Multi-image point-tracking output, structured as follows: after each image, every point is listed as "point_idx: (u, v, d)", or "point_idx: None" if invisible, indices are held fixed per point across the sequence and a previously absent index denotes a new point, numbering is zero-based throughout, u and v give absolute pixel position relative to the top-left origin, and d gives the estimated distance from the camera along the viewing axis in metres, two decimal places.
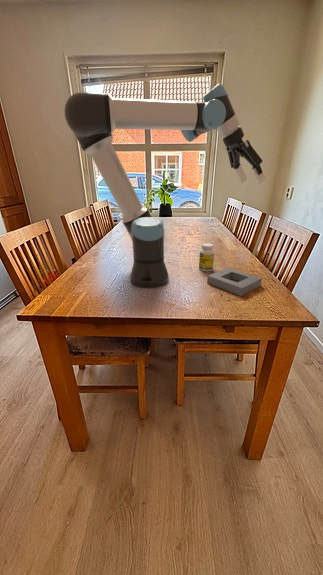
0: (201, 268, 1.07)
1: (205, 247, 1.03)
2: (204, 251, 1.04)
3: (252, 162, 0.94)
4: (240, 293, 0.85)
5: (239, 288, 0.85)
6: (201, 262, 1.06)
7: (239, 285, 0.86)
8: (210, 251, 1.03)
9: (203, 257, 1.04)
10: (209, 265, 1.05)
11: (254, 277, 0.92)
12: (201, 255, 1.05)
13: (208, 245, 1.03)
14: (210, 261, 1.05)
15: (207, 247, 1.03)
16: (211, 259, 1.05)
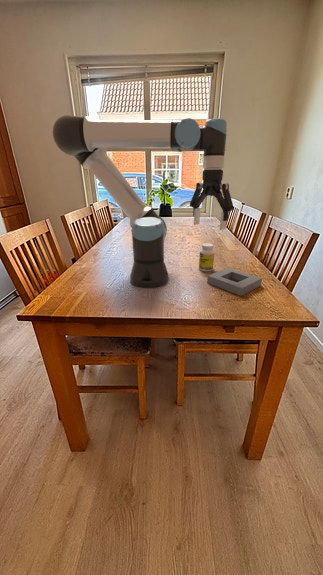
0: (201, 268, 1.07)
1: (205, 247, 1.03)
2: (204, 251, 1.04)
3: (224, 206, 0.92)
4: (240, 293, 0.85)
5: (239, 288, 0.85)
6: (201, 262, 1.06)
7: (239, 285, 0.86)
8: (210, 251, 1.03)
9: (203, 257, 1.04)
10: (209, 265, 1.05)
11: (254, 277, 0.92)
12: (201, 255, 1.05)
13: (208, 245, 1.03)
14: (210, 261, 1.05)
15: (207, 247, 1.03)
16: (211, 259, 1.05)
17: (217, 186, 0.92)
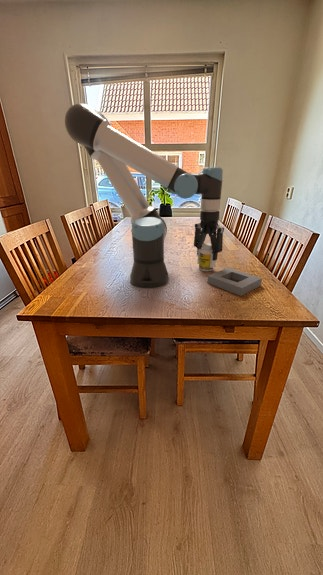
0: (201, 268, 1.07)
1: (205, 247, 1.03)
2: (204, 251, 1.04)
3: (214, 248, 1.01)
4: (240, 293, 0.85)
5: (239, 288, 0.85)
6: (201, 262, 1.06)
7: (239, 285, 0.86)
8: (210, 251, 1.03)
9: (203, 257, 1.04)
10: (209, 265, 1.05)
11: (254, 277, 0.92)
12: (201, 255, 1.05)
13: (208, 245, 1.03)
14: None
15: (207, 247, 1.03)
16: None
17: (214, 226, 0.98)
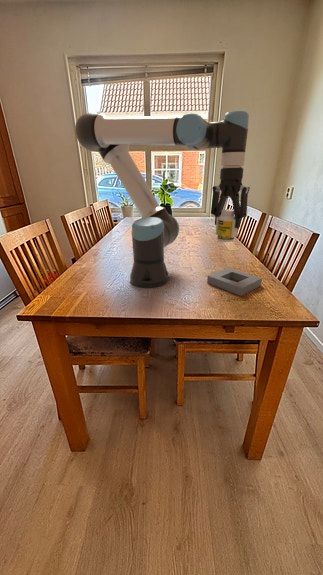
0: (221, 238, 0.92)
1: (226, 212, 0.88)
2: (225, 217, 0.89)
3: (237, 212, 0.86)
4: (240, 293, 0.85)
5: (239, 288, 0.85)
6: (221, 231, 0.91)
7: (239, 285, 0.86)
8: (232, 217, 0.89)
9: (223, 225, 0.90)
10: (230, 235, 0.91)
11: (254, 277, 0.92)
12: (221, 223, 0.90)
13: (229, 211, 0.88)
14: None
15: (228, 212, 0.88)
16: None
17: (237, 186, 0.83)
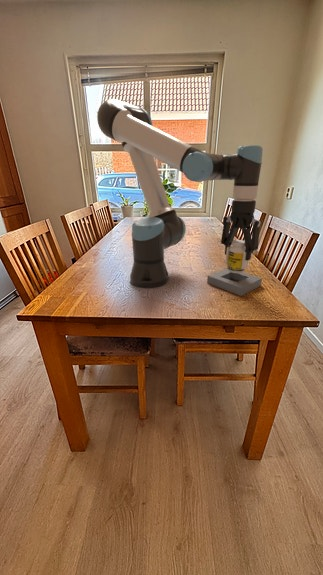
0: (231, 269, 0.90)
1: (237, 244, 0.86)
2: (235, 249, 0.87)
3: (248, 245, 0.84)
4: (240, 293, 0.85)
5: (239, 288, 0.85)
6: (231, 262, 0.89)
7: (239, 285, 0.86)
8: (242, 249, 0.86)
9: (233, 256, 0.87)
10: (240, 266, 0.88)
11: (254, 277, 0.92)
12: (231, 254, 0.88)
13: (240, 242, 0.86)
14: None
15: (239, 244, 0.86)
16: None
17: (249, 219, 0.81)
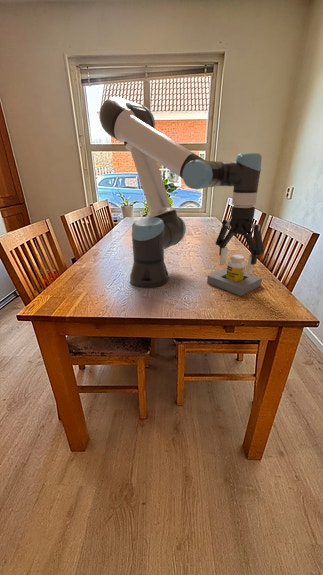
0: None
1: (235, 259, 0.88)
2: (233, 264, 0.89)
3: (253, 249, 0.83)
4: (240, 293, 0.85)
5: (239, 288, 0.85)
6: (229, 276, 0.91)
7: (239, 285, 0.86)
8: (240, 264, 0.89)
9: (231, 271, 0.90)
10: (238, 280, 0.91)
11: (254, 277, 0.92)
12: (229, 268, 0.90)
13: (238, 258, 0.88)
14: (240, 276, 0.90)
15: (237, 260, 0.88)
16: (241, 273, 0.90)
17: (248, 225, 0.82)
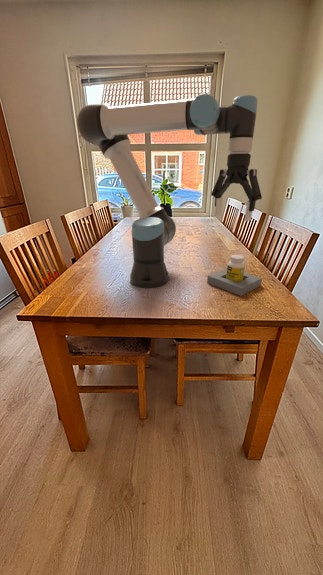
0: None
1: (235, 259, 0.88)
2: (233, 264, 0.89)
3: (250, 194, 0.83)
4: (240, 293, 0.85)
5: (239, 288, 0.85)
6: (229, 276, 0.91)
7: (239, 285, 0.86)
8: (240, 264, 0.89)
9: (231, 271, 0.90)
10: (238, 280, 0.91)
11: (254, 277, 0.92)
12: (229, 269, 0.90)
13: (238, 258, 0.88)
14: (240, 275, 0.90)
15: (237, 259, 0.88)
16: (241, 273, 0.90)
17: (243, 172, 0.83)
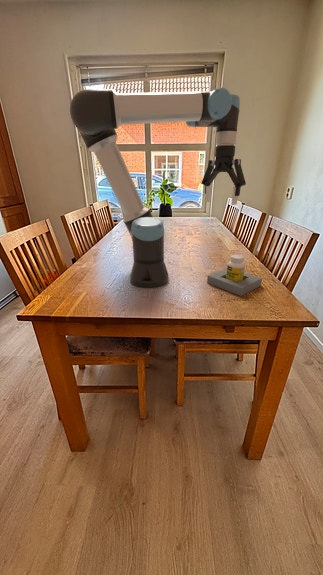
0: None
1: (235, 259, 0.88)
2: (233, 264, 0.89)
3: (236, 181, 0.95)
4: (240, 293, 0.85)
5: (239, 288, 0.85)
6: (229, 276, 0.91)
7: (239, 285, 0.86)
8: (240, 264, 0.89)
9: (231, 271, 0.90)
10: (238, 280, 0.91)
11: (254, 277, 0.92)
12: (229, 268, 0.90)
13: (238, 258, 0.88)
14: (240, 275, 0.90)
15: (237, 259, 0.88)
16: (241, 273, 0.90)
17: (229, 162, 0.95)
